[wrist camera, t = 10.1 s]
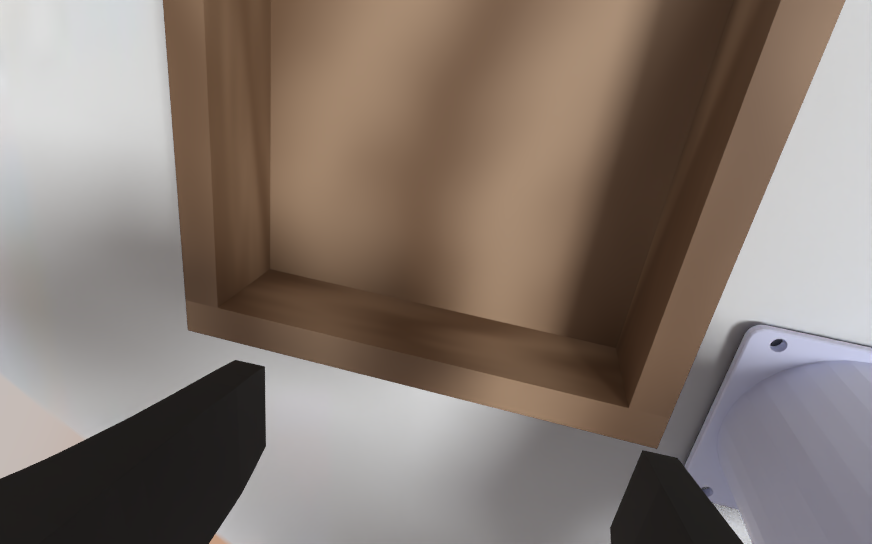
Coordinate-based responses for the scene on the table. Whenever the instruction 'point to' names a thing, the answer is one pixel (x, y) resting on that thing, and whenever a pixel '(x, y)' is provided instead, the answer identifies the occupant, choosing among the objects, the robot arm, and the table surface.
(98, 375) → the table surface
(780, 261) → the table surface
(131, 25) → the table surface
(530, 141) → the walnut crate
